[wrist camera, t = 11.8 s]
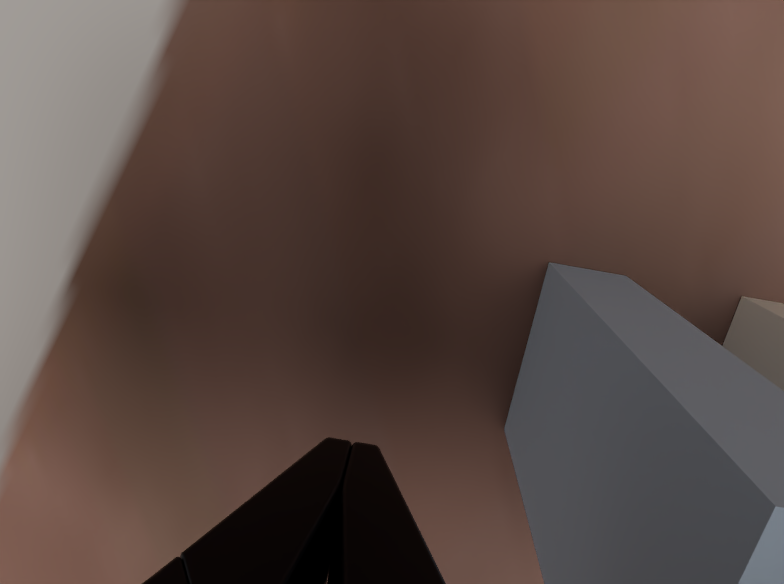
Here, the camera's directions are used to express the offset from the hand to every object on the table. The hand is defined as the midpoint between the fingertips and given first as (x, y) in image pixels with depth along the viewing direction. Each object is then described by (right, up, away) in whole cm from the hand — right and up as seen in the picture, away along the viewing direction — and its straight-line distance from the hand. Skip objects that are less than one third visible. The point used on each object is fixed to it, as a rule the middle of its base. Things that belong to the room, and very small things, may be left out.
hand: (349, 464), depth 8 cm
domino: (+5, +1, +6) cm, 8 cm away
